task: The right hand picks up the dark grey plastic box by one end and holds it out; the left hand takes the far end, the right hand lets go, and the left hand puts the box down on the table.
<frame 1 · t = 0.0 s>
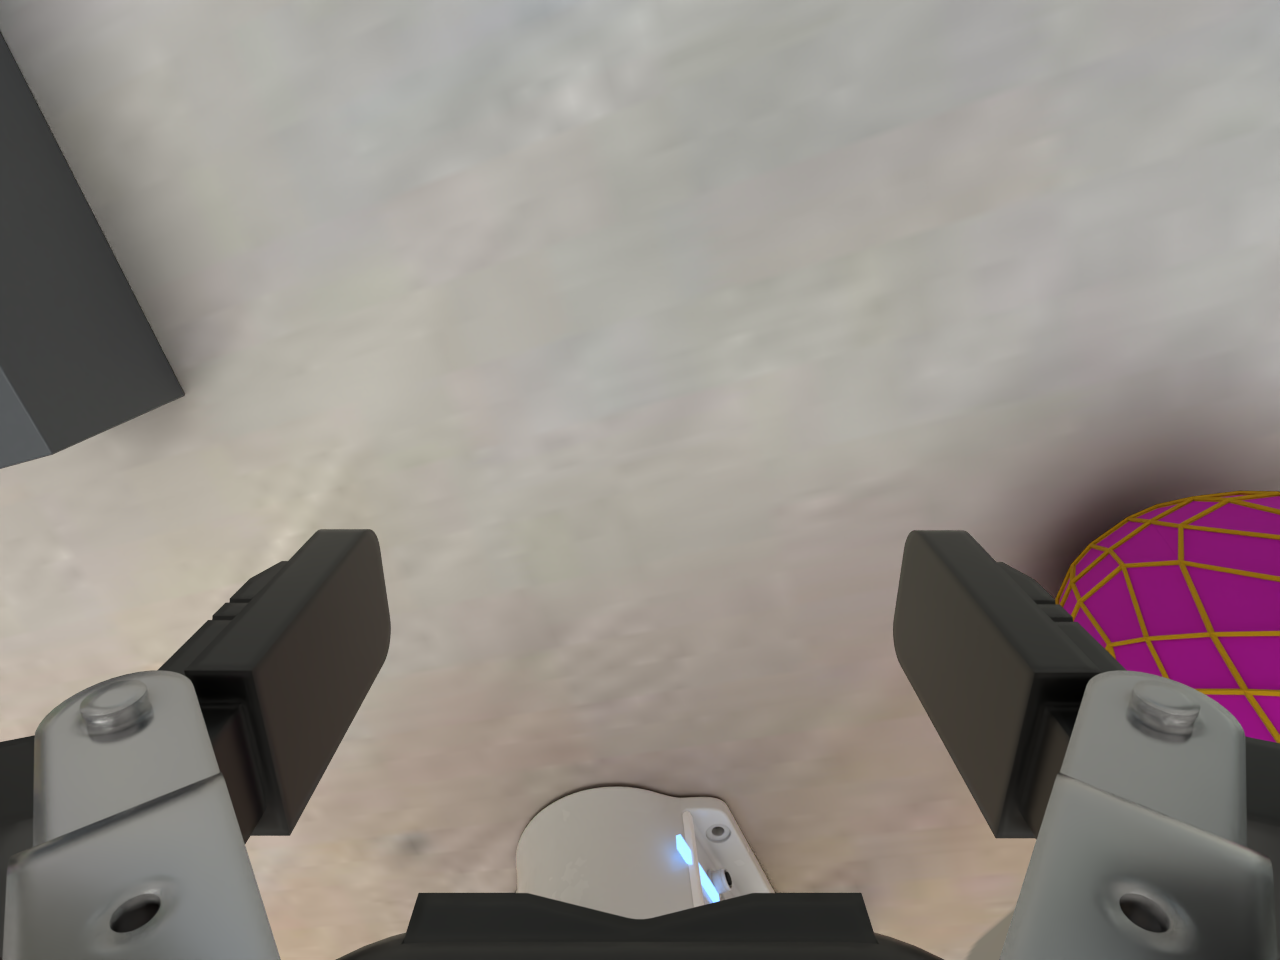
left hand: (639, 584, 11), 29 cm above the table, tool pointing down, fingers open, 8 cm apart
box: (9, 167, 36), on the table
decorative egg: (1133, 575, 44), on the table
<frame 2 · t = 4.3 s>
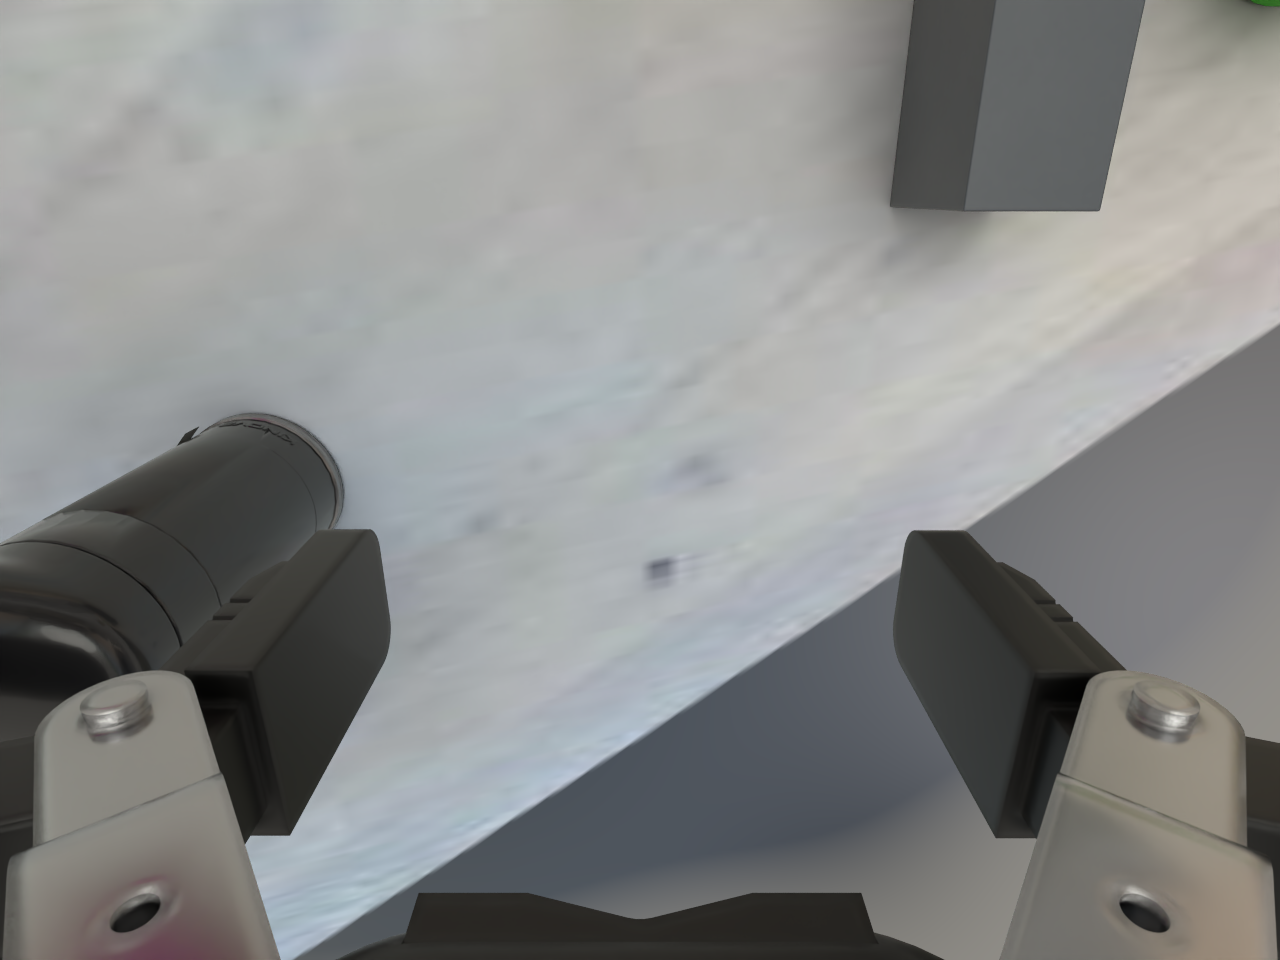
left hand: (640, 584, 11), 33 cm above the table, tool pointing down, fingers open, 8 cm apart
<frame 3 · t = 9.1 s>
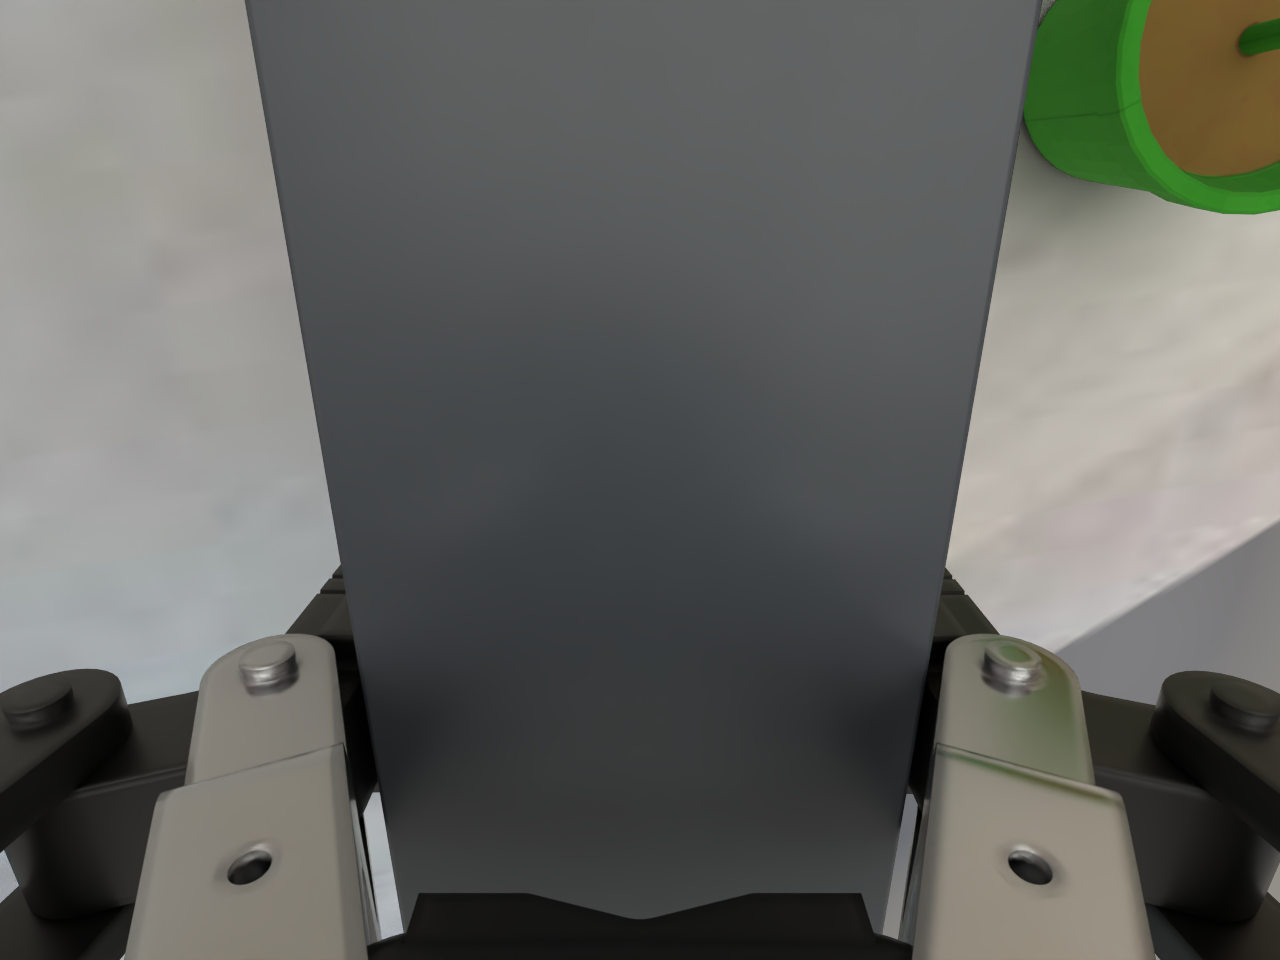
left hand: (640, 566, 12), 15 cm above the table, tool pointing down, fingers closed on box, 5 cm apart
potted flower: (1112, 64, 23), on the table
when the right hand's fingers open (14 cm above the table, at t = 10.2 s): box stays where it is, held by the left hand.
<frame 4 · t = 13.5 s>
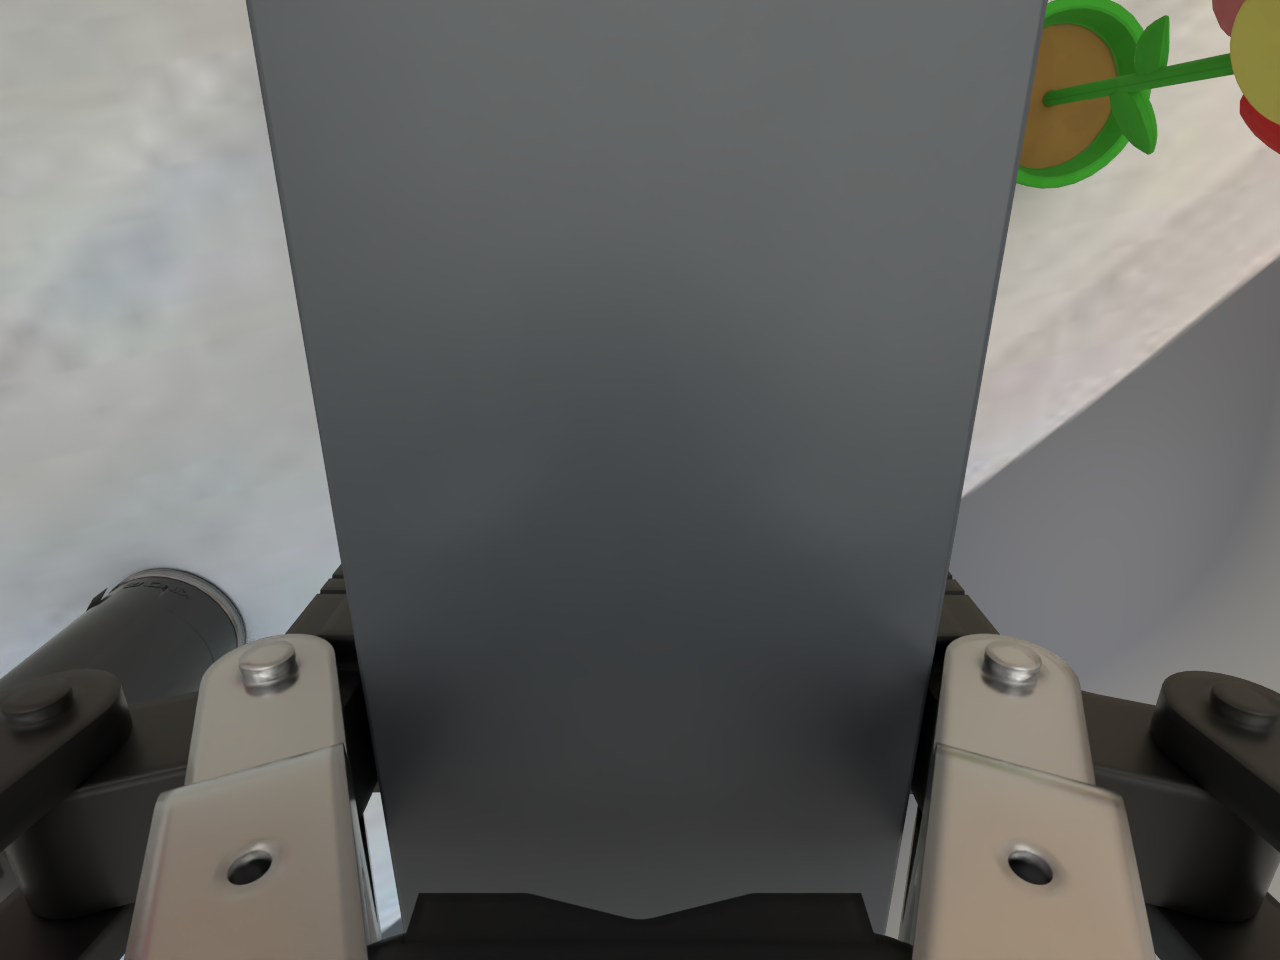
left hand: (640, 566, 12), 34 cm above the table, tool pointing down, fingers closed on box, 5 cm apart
potted flower: (995, 103, 39), on the table
when the left hand's fingers open (7 cm above the table, at t = 22.7 s): box drops 1 cm, on the table.
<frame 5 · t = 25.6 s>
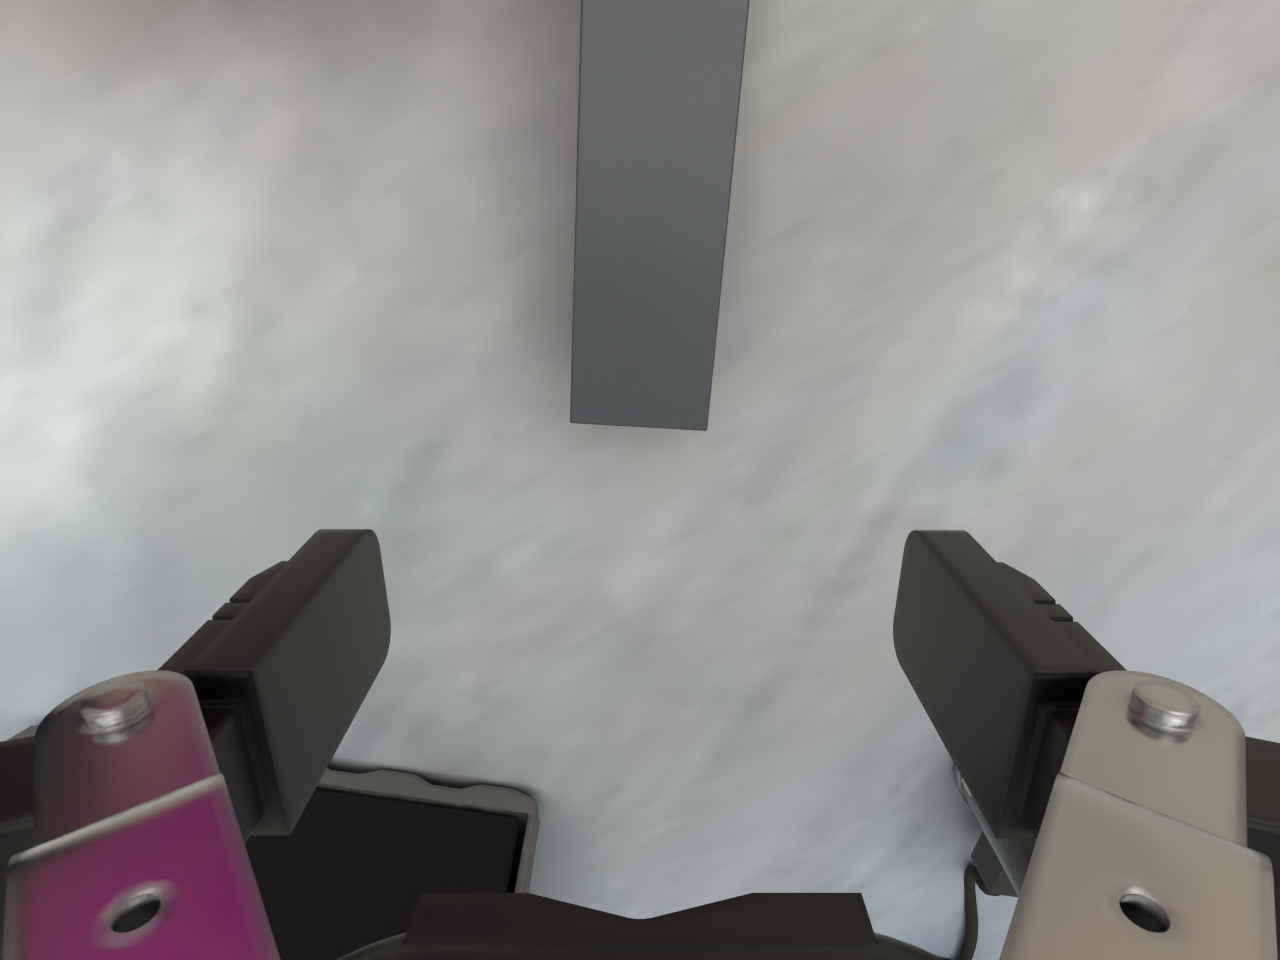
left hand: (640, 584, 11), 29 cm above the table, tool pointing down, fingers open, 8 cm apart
box: (654, 114, 35), on the table
electronic device: (293, 862, 53), on the table
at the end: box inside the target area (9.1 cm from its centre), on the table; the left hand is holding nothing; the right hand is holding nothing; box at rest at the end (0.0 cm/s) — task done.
